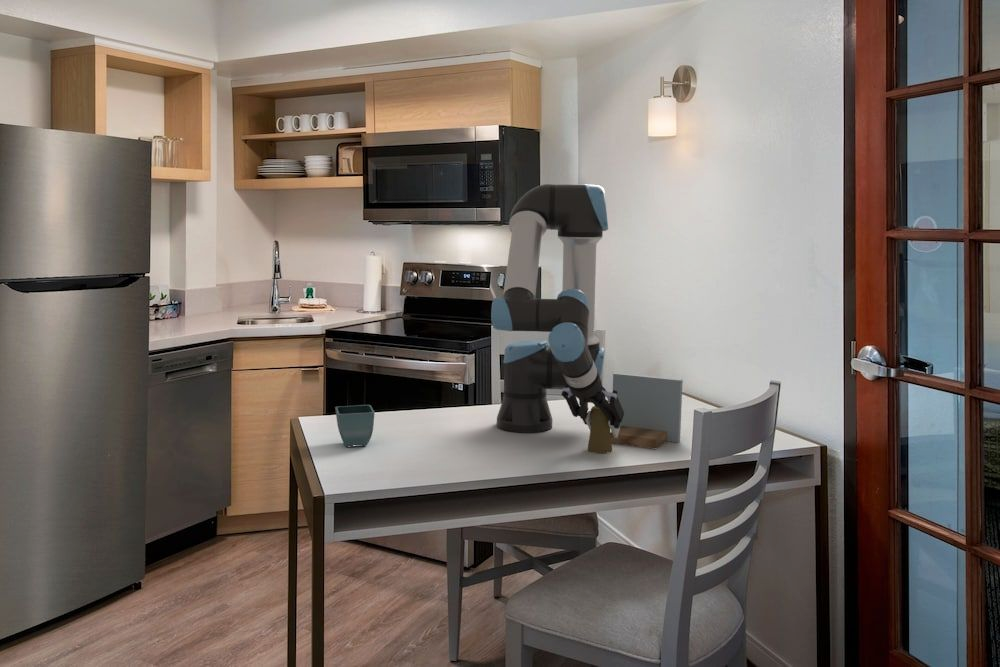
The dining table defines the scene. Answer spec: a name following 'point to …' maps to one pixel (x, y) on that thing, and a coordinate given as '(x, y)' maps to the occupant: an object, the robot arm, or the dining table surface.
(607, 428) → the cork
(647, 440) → the brown flat block
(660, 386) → the back board
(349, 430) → the flower pot
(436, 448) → the dining table surface
